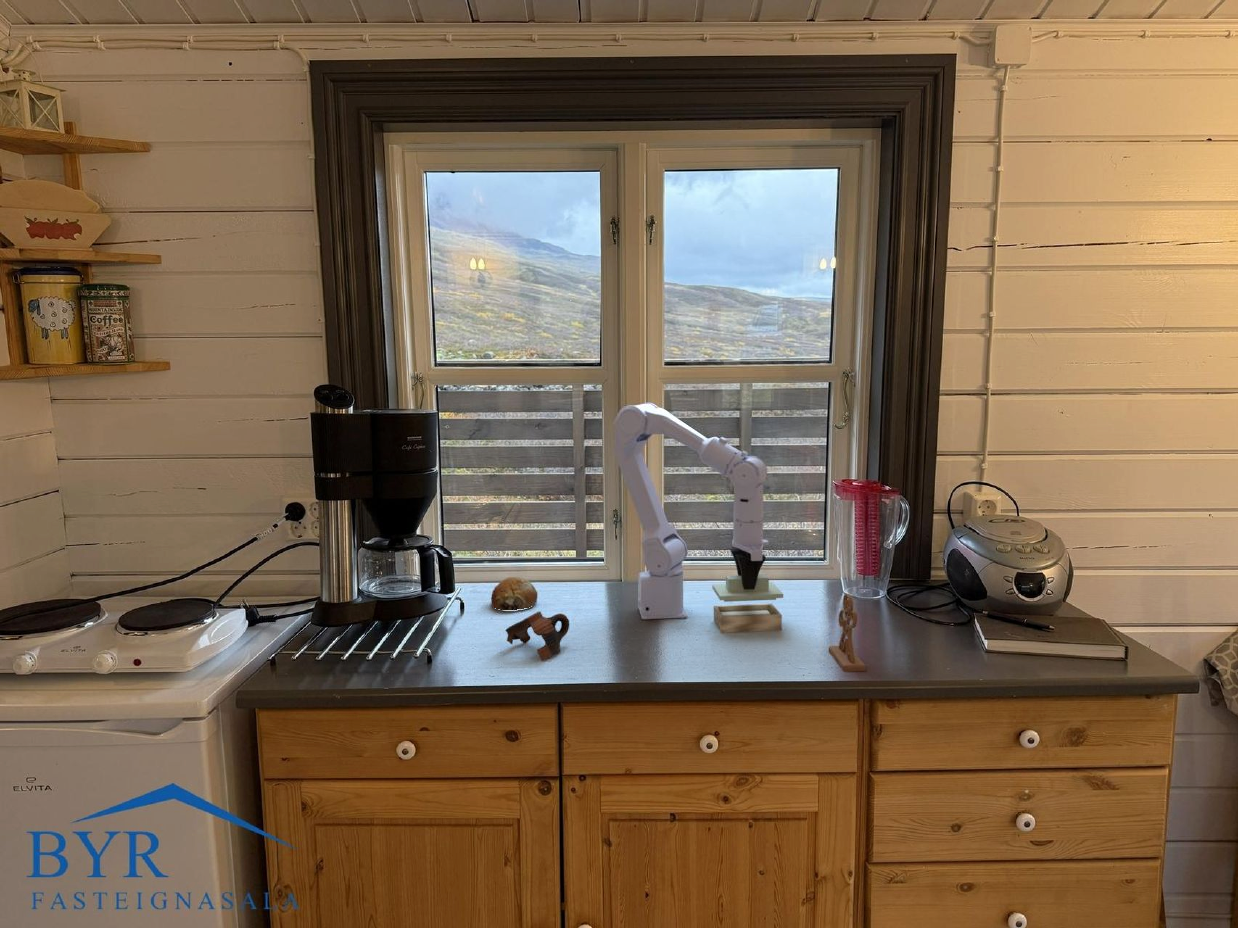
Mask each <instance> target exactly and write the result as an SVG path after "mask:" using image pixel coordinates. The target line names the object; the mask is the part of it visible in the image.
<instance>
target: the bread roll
mask: <svg viewBox="0 0 1238 928" xmlns="http://www.w3.org/2000/svg"><path fill="white" fill-rule="evenodd" d="M490 599H491V601H490V602H491V605H493V606H492V607H493V609H495V608H496V609H500V610H517V609H524V608H529V607H531V606H532V607H533V605H534V606H535V605H536V604H537V601H538V591H537V590H536V588H535V586H534V585H533V584H532V583H531V582H530V581H529V580H527V579H526V578H523V577H520V576H509V577H506V578H504V579H503V580H501V581H500V582H499V583H498V584H497V585H495V587H494V589H493V591H492V593H491V598H490ZM535 603H536V604H535ZM532 607H531V608H532ZM496 609H495V610H496Z"/></svg>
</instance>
